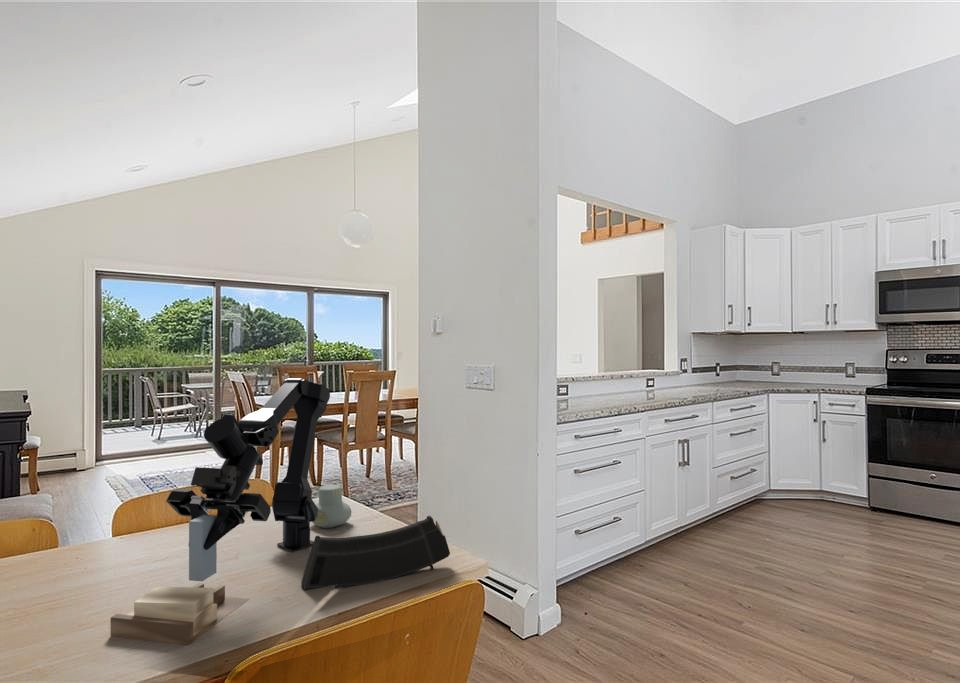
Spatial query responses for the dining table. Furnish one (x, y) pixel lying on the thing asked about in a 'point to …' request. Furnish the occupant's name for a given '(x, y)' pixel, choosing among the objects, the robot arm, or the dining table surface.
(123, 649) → the dining table surface
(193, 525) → the tall board
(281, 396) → the robot arm
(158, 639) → the walnut rack
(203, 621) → the offcut stack
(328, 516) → the air freshener
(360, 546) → the magazine
